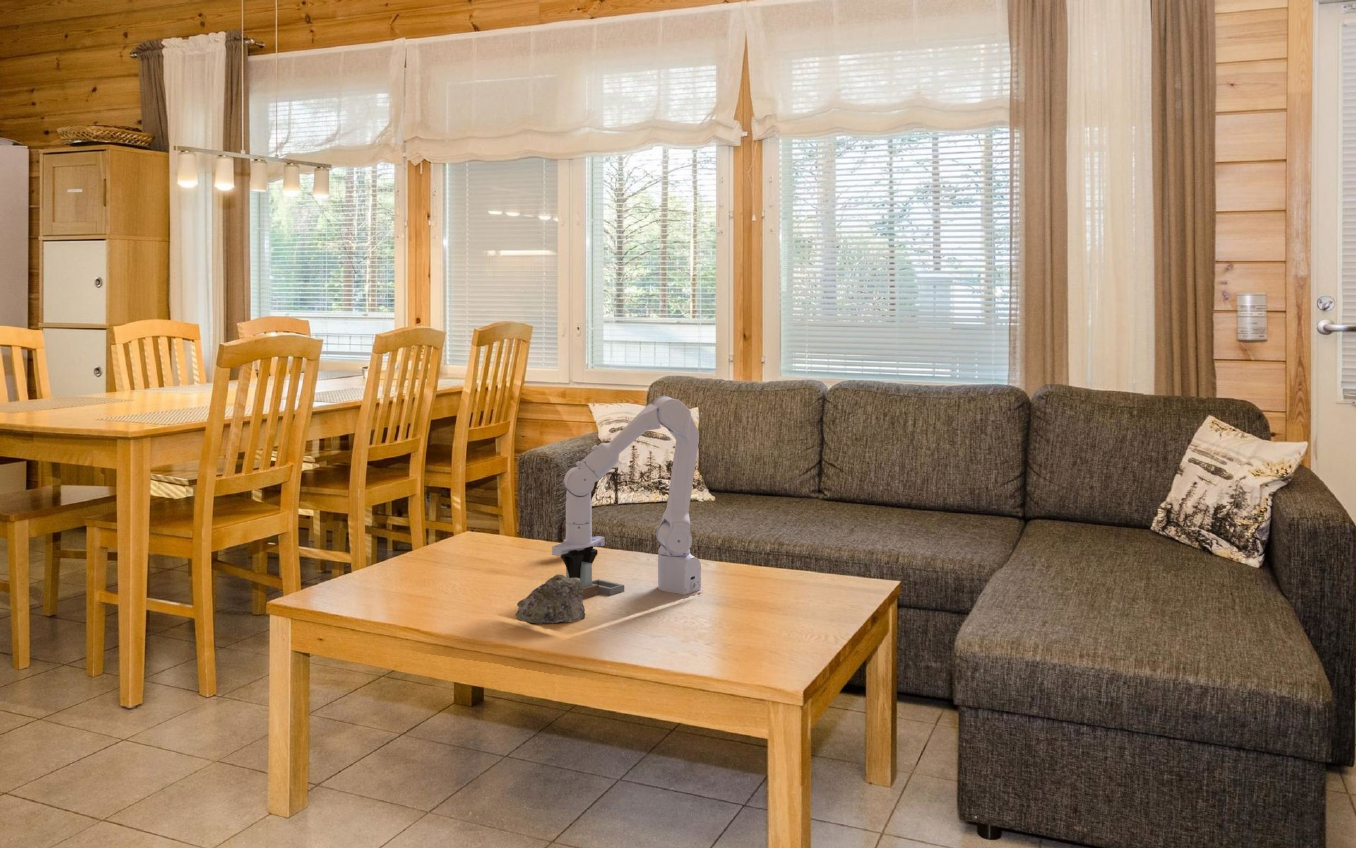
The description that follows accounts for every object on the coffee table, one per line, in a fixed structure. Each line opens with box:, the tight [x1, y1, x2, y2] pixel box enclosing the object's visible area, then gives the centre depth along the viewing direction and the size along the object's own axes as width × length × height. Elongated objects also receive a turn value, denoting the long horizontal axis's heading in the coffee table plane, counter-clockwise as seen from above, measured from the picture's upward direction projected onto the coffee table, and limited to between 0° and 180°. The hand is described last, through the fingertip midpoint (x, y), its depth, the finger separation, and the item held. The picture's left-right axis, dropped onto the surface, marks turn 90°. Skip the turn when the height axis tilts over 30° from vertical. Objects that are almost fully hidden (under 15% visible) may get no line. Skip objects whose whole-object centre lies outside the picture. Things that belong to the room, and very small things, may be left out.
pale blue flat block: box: [565, 561, 593, 588], centre depth 240 cm, size 6×2×7 cm, turn 51°
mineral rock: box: [515, 573, 586, 625], centre depth 220 cm, size 13×11×10 cm
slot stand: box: [592, 578, 625, 596], centre depth 243 cm, size 8×5×2 cm, turn 51°
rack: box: [582, 584, 600, 600], centre depth 239 cm, size 8×7×3 cm
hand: (579, 582), depth 240 cm, fingers closed on pale blue flat block, 2 cm apart
